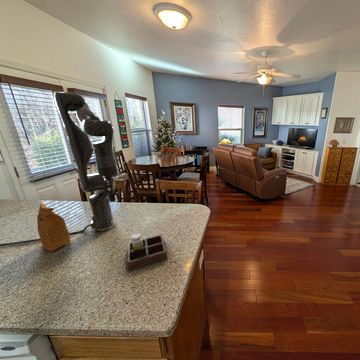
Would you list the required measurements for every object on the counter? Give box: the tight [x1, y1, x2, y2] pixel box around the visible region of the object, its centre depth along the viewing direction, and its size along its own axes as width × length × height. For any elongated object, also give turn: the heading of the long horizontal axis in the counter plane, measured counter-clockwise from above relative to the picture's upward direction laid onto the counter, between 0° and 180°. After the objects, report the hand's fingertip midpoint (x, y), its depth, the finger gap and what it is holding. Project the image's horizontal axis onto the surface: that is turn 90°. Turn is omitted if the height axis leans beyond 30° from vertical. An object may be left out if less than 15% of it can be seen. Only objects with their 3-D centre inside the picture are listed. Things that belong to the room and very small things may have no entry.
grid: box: [127, 234, 168, 271], centre depth 90 cm, size 16×16×4 cm
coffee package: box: [36, 203, 72, 252], centre depth 94 cm, size 10×12×22 cm
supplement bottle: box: [130, 233, 144, 250], centre depth 91 cm, size 5×5×8 cm
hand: (113, 197), depth 92 cm, fingers open, 8 cm apart
